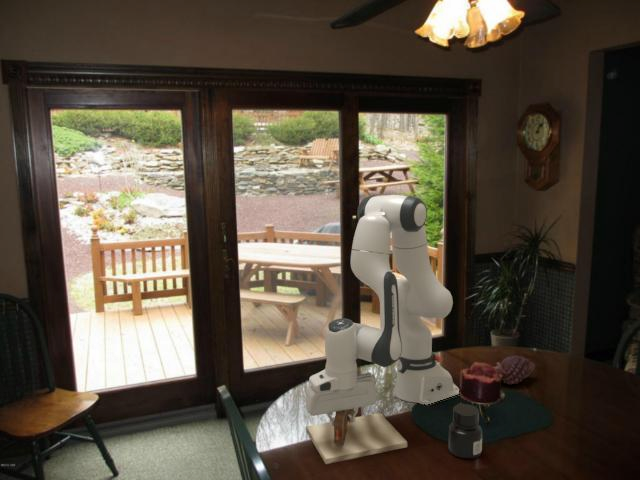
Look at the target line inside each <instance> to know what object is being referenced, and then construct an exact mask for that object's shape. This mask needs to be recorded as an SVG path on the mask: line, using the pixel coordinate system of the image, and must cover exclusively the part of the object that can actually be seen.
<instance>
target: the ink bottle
mask: <svg viewBox="0 0 640 480" xmlns="http://www.w3.org/2000/svg"><path fill="white" fill-rule="evenodd" d="M479 421H480V410H479V408H478V407H476V406H474V405H472V404H466V403H460V404H456V405H454V406H453V408H452V422H451V423H450V424H449V426H448V445H447V446H448V451H449V452H450V453H451V454H453V455H454V456H455V457H458V458H460V459H461V458H462V459H476V458H478V457H480V456H481V454H482V453H483V452H482V451H483V429H482V427H481V426H480V425H479V423H480V422H479Z"/></svg>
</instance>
